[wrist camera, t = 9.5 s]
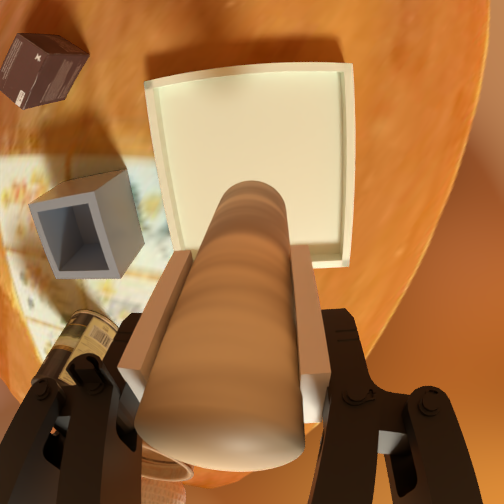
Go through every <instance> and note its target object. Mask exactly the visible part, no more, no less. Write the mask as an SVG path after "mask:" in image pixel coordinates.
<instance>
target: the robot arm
mask: <svg viewBox="0 0 504 504" xmlns="http://www.w3.org/2000/svg"><path fill="white" fill-rule="evenodd" d="M290 260H291V271H292V283H293V295H294V307H295V320H296V334H297V348H298V364H299V381H300V391H301V393H302V396H303V412H304V423H315V422H322V417H323V427H324V429H323V433H322V437H321V441H320V449H319V454H318V460H317V464H316V469H315V473H314V478H313V482H312V487H311V491H310V495H309V500H308V504H372V500H373V493H374V485H375V476H376V465H377V454H378V453H382V454H384V457H385V462H386V467H387V472H388V477H389V483H390V489H391V494H392V501H393V504H483V502H482V499H481V494H480V490H479V486H478V482H477V479H476V475H475V472H474V468H473V465H472V462H471V459H470V455H469V452H468V449H467V446H466V443H465V440H464V437H463V434H462V431H461V429H460V426H459V423H458V420H457V418H456V415H455V412H454V410H453V407H452V405H451V403H450V400H449V398H448V397H447V395H446V393H445V392H443V391H442V390H440V389H439V388H436V387H433V386H422V387H420V388H418V389H415V390H414V391H413V392H412V393H411V395H407V394H399V393H392V392H387V391H385V390H383V389H381V388H379V387H378V386H377V385H375V384H374V382H373V381H372V380H371V378H370V376H369V373H368V369H367V365H366V361H365V357H364V353H363V349H362V346H361V342H360V340H359V335H358V331H357V327H356V324H355V320H354V317H353V316H352V315H351V314H350V313H349V312H348V311H347V310H346V309H345V308H342V309H327V310H321V308H320V302H319V297H318V291H317V286H316V281H315V276H314V271H313V266H312V261H311V256H310V251H309V246H308V245H290ZM192 265H193V257H192V253H191V250H179V251H174V253H173V255H172V257H171V258H170V260H169V262H168V264H167V266H166V268H165V270H164V272H163V274H162V276H161V277H160V279H159V281H158V283H157V285H156V287H155V289H154V291H153V293H152V295H151V297H150V299H149V301H148V303H147V305H146V307H145V309H144V311H143V313H131V314H130V315H129V316H128V317H127V318H126V319H125V320H123V321H122V323H121V325H120V327H119V329H118V331H117V333H116V335H115V336H114V338H113V342H111V344H110V346H109V348H108V350H107V352H106V354H105V356H104V358H103V360H101V358H100V357H99V356H98V355H96V354H93V353H85V354H81V355H79V356H77V357H75V358H74V359H73V360H72V361H71V362H69V364H68V366H67V367H66V371H67V372H68V374H69V375H70V376H71V378H72V379H73V381H74V382H75V383H76V385H69V386H59V384H58V383H57V382H56V381H55V380H54V379H52V378H48V377H45V378H42V379H39V380H38V381H36V382H35V383H34V384H33V385H32V386H31V388H30V390H29V391H28V393H27V395H26V396H25V398H24V400H23V402H22V404H21V405H20V407H19V409H18V411H17V413H16V414H15V416H14V418H13V420H12V422H11V424H10V426H9V428H8V430H7V432H6V434H5V436H4V438H3V440H2V442H1V444H0V504H141V471H142V441H143V439H142V438H141V437H140V436H139V434H138V433H137V431H136V429H135V426H134V420H135V416H136V413H137V410H138V407H139V404H140V401H141V399H142V396H143V393H144V390H145V387H146V384H147V381H148V379H149V376H150V373H151V370H152V367H153V365H154V362H155V359H156V356H157V354H158V351H159V348H160V346H161V343H162V340H163V338H164V335H165V332H166V330H167V327H168V325H169V322H170V319H171V317H172V314H173V312H174V309H175V307H176V304H177V301H178V299H179V296H180V294H181V291H182V289H183V286H184V284H185V282H186V279H187V277H188V274H189V272H190V269H191V267H192ZM53 427H54V428H55V429H56V432H55V433H54V434H51V433H50V432H51V430H52V428H53Z"/></svg>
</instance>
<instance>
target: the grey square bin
mask: <svg viewBox="0 0 504 504" xmlns="http://www.w3.org/2000/svg"><path fill="white" fill-rule="evenodd" d="M28 205H29V208H30V211H31V214H32V217H33V220H34V223H35V226H36V229H37V232H38V235H39V238H40V240H41V243H42V246H43V248H44V251H45V253H46V256H47V258H48V261H49V263H50V266H51V268H52V271H53V273H54V275H55V277H56V279H121V278H122V276H123V275H124V273H125V272H126V270H127V269H128V267H129V266H130V264H131V263H132V261H133V260H134V258H135V257H136V256H137V254H138V253H139V251H140V250H141V248H142V247H143V246H144V244H145V243H144V240H143V236H142V232H141V228H140V224H139V220H138V216H137V212H136V208H135V204H134V199H133V195H132V191H131V186H130V181H129V177H128V172H127V169H124V170H118V171H113V172H107V173H102V174H97V175H92V176H87V177H82V178H78V179H73V180H69V181H64V182H63V183H61V184H59V185H58V186H56V187H54V188H53V189H51V190H50V191H48V192H46V193H45V194H43V195H42V196H40V197H39V198H37V199H36V200H34V201H33V202H31V203H30V204H28Z"/></svg>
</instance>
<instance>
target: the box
mask: <svg viewBox="0 0 504 504" xmlns="http://www.w3.org/2000/svg"><path fill="white" fill-rule="evenodd" d="M88 57H89V54H88V53H86V52H85V51H83V50H81V49H80V48H78V47H77V46H75V45H74V44H72V43H71V42H69V41H67V40H66V39H64V38H62V37H61V36H59V35H48V34H32V33H17V35H16V37H15V39H14V41H13V43H12V45H11V47H10V49H9V51H8V53H7V56H6V58H5V60H4V62H3V65H2V67H1V69H0V91H2V92H3V93H4V94H5V95H6V96H7V97H9V98H10V99H11V100H12V101H13V102H14V103H15V104H16V105H18V106H19V107H20V108H21V109H22V110H25V109H28V108H32V107H35V106H39V105H44V104H48V103H52V102H57V101H61V100H65V98H66V96H67V94H68V92H69V90H70V88H71V87H72V85H73V83H74V81H75V79H76V78H77V76H78V74H79V72H80V71H81V69H82V67H83V66H84V64H85V62H86V61H87V59H88Z"/></svg>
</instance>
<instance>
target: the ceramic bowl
mask: <svg viewBox="0 0 504 504" xmlns="http://www.w3.org/2000/svg"><path fill="white" fill-rule="evenodd" d="M193 468H194V465H191V464H187V463H184V462H181V461H179V460H176V459H174V458H171V457H169V456H167V455H165V454H163V453H161V452H159V451H158V450H156V449H154V448H153V447H151V446H150V445H149V444H148V443H146V442H145V441H144V440H143V441H142V471H141V476H142V477H146V478H150V479H155V480H162V481H174V482H176V481H186V480H189V479H191V478H192V477H193V475H194V472H193Z"/></svg>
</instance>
